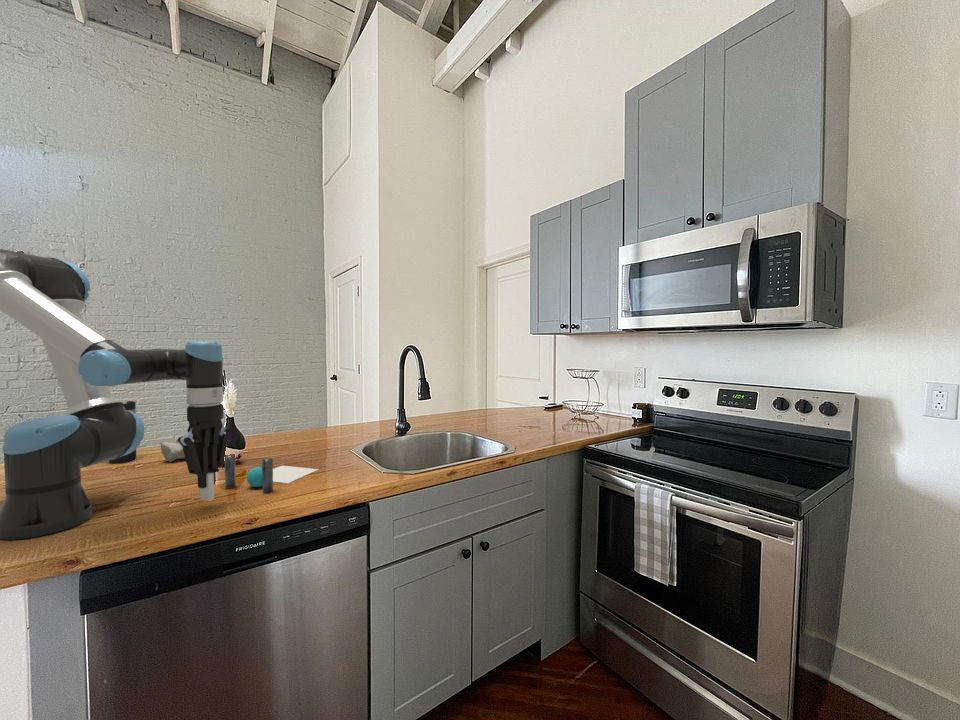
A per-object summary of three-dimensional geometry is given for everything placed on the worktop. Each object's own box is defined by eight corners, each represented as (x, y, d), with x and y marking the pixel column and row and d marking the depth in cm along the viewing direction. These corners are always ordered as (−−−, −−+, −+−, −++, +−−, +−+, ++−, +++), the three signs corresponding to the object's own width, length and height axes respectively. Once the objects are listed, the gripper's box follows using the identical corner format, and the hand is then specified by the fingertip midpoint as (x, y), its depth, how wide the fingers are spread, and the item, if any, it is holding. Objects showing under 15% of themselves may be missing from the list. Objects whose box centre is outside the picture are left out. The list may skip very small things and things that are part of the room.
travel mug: (120, 464, 140) (118, 404, 139) (101, 463, 142) (100, 403, 141) (143, 458, 148) (141, 401, 147) (125, 457, 149) (123, 400, 148)
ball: (257, 489, 116) (260, 469, 117) (240, 486, 117) (244, 466, 118) (271, 487, 121) (274, 467, 122) (255, 484, 122) (258, 465, 123)
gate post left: (230, 489, 117) (229, 457, 117) (222, 488, 118) (222, 456, 118) (238, 486, 120) (237, 454, 120) (230, 485, 121) (230, 454, 120)
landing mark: (287, 483, 122) (287, 483, 122) (248, 479, 126) (248, 478, 126) (318, 469, 136) (318, 469, 136) (281, 466, 139) (281, 465, 139)
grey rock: (157, 434, 146) (207, 430, 157) (156, 459, 146) (206, 454, 157) (164, 439, 138) (216, 435, 149) (162, 466, 139) (214, 460, 149)
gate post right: (268, 493, 114) (267, 460, 114) (260, 492, 115) (259, 459, 114) (275, 490, 117) (274, 458, 116) (267, 489, 117) (266, 457, 117)
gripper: (193, 409, 96) (195, 511, 97) (239, 401, 109) (240, 491, 110) (167, 407, 98) (169, 507, 99) (216, 400, 111) (217, 489, 112)
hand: (207, 499), depth 105 cm, fingers closed
